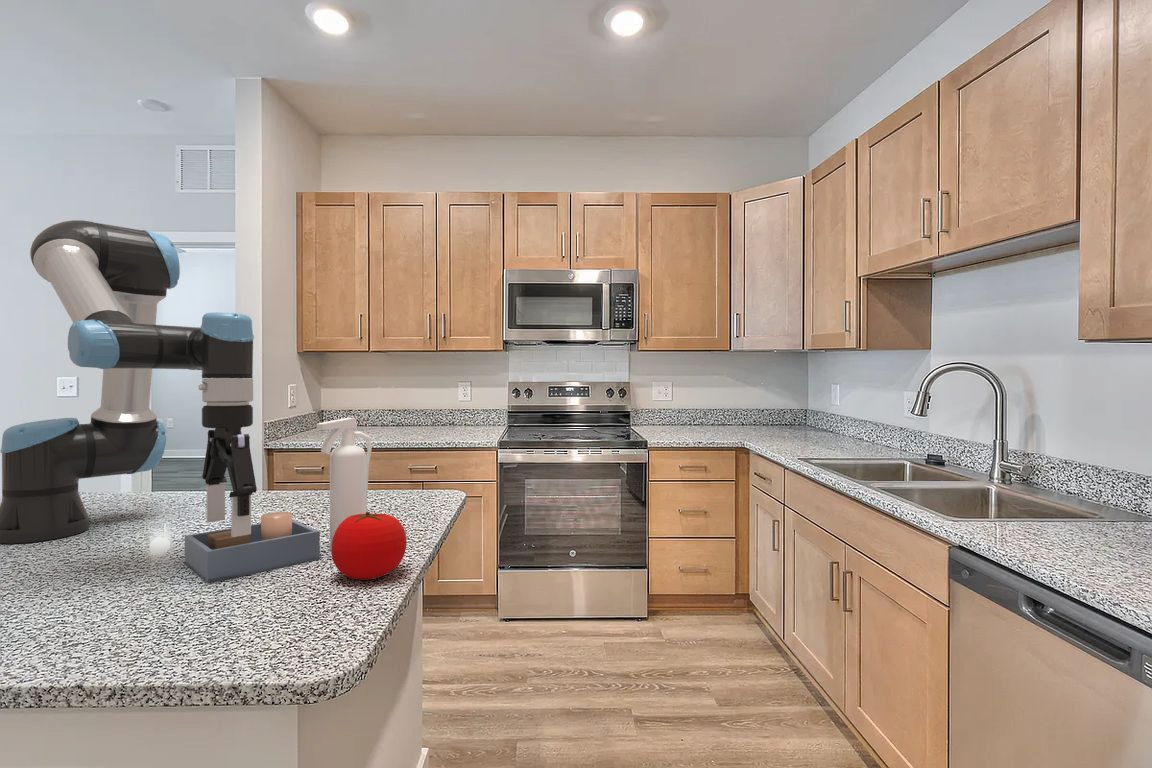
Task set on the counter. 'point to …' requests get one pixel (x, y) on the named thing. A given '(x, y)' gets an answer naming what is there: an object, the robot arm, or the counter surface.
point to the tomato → (368, 545)
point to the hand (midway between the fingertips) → (228, 527)
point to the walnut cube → (226, 540)
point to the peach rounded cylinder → (276, 525)
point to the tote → (251, 553)
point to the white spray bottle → (346, 471)
